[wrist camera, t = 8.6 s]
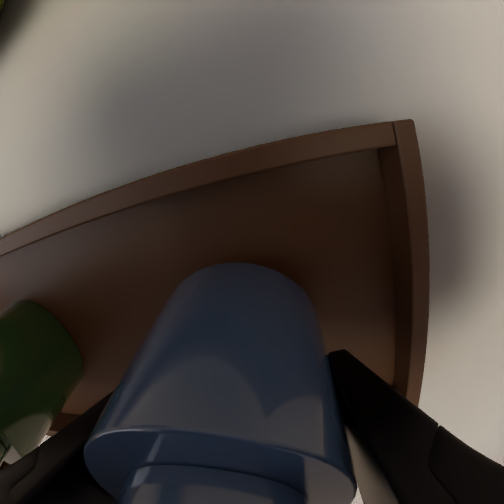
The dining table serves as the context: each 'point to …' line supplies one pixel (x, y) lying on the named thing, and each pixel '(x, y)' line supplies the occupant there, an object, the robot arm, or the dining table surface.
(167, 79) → the dining table surface
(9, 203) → the dining table surface
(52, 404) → the green bottle
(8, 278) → the tray
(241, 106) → the dining table surface
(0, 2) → the apple
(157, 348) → the blue bottle
